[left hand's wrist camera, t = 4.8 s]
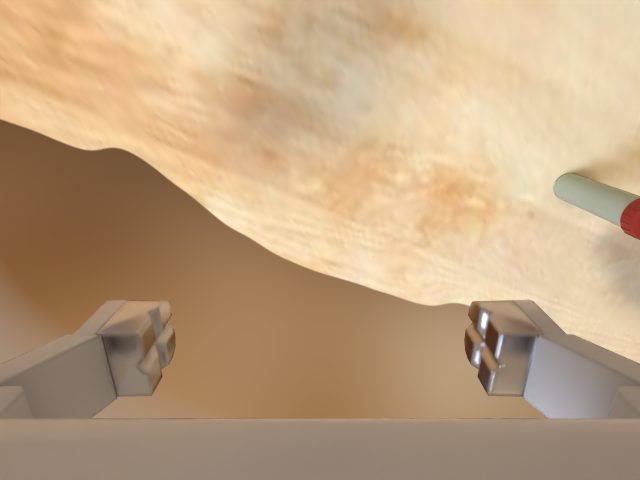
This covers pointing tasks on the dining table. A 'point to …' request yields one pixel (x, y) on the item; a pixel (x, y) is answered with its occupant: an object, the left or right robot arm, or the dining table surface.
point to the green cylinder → (593, 196)
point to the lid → (631, 219)
